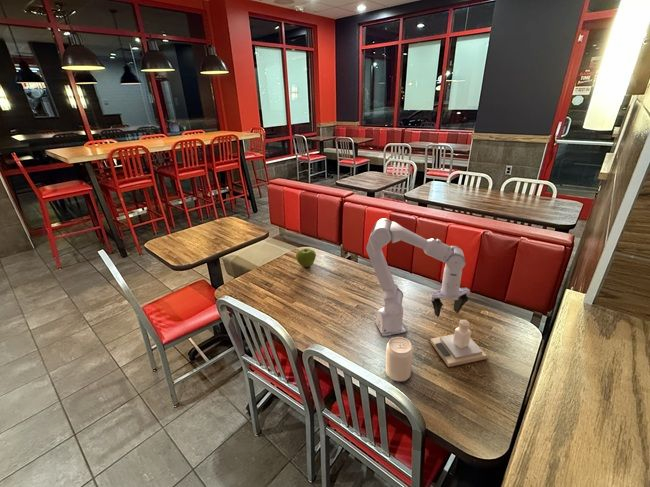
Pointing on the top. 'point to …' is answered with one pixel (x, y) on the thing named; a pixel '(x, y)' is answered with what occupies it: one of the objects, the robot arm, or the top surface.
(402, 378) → the beverage can
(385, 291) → the robot arm
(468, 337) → the pepper shaker
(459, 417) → the top surface
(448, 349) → the scale
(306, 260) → the apple
